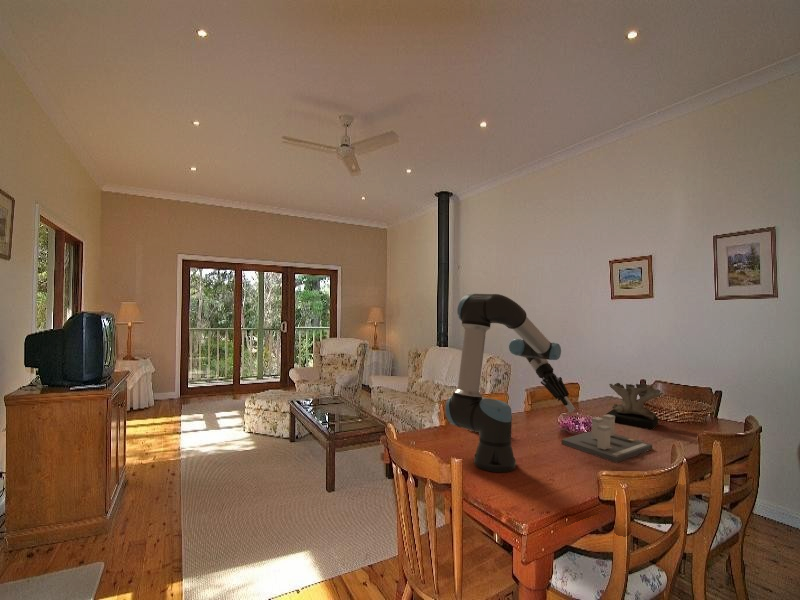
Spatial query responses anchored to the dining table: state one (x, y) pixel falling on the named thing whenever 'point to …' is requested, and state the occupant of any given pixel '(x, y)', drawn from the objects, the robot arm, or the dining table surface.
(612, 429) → the far lever
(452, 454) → the dining table surface
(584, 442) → the switch panel
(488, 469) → the robot arm
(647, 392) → the coral
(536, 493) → the dining table surface
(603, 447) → the near lever
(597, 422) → the middle lever
